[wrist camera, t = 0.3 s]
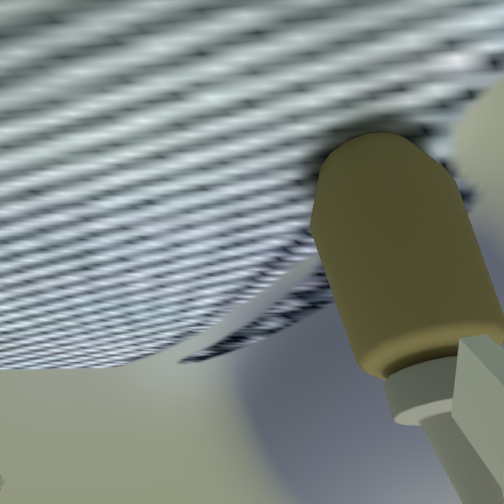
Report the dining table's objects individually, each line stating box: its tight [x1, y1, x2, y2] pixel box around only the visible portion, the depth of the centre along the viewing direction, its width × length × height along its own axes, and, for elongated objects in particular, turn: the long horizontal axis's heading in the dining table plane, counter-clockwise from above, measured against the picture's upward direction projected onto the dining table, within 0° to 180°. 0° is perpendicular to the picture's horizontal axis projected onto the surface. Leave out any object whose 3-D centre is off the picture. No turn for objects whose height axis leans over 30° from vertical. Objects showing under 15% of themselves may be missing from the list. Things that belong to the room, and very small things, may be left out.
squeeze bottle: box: [310, 132, 504, 504], centre depth 19 cm, size 8×8×18 cm
